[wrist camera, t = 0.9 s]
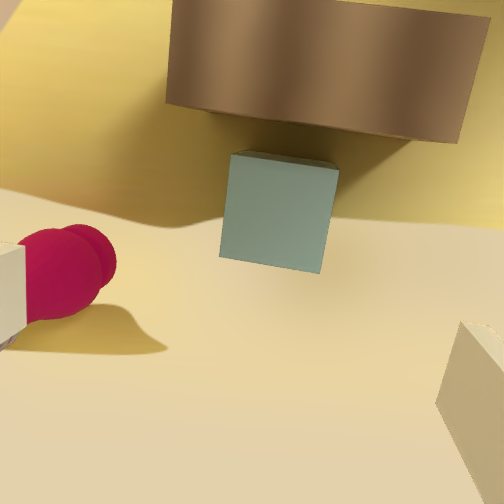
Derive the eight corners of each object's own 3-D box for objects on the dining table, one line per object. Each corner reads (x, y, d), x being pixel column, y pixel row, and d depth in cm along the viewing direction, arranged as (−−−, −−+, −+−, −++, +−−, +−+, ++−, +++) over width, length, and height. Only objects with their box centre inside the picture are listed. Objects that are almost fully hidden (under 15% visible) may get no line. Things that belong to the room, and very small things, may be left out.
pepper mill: (43, 216, 37) (-233, 303, 18) (120, 220, 36) (-86, 317, 17) (51, 291, 39) (-190, 440, 20) (124, 297, 39) (-56, 459, 19)
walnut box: (432, 54, 30) (490, 17, 20) (412, 140, 32) (456, 143, 22) (215, 28, 31) (173, -18, 22) (207, 111, 33) (165, 103, 23)
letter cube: (334, 162, 33) (341, 170, 26) (318, 247, 35) (321, 274, 28) (246, 150, 34) (231, 154, 27) (236, 233, 36) (219, 256, 29)
